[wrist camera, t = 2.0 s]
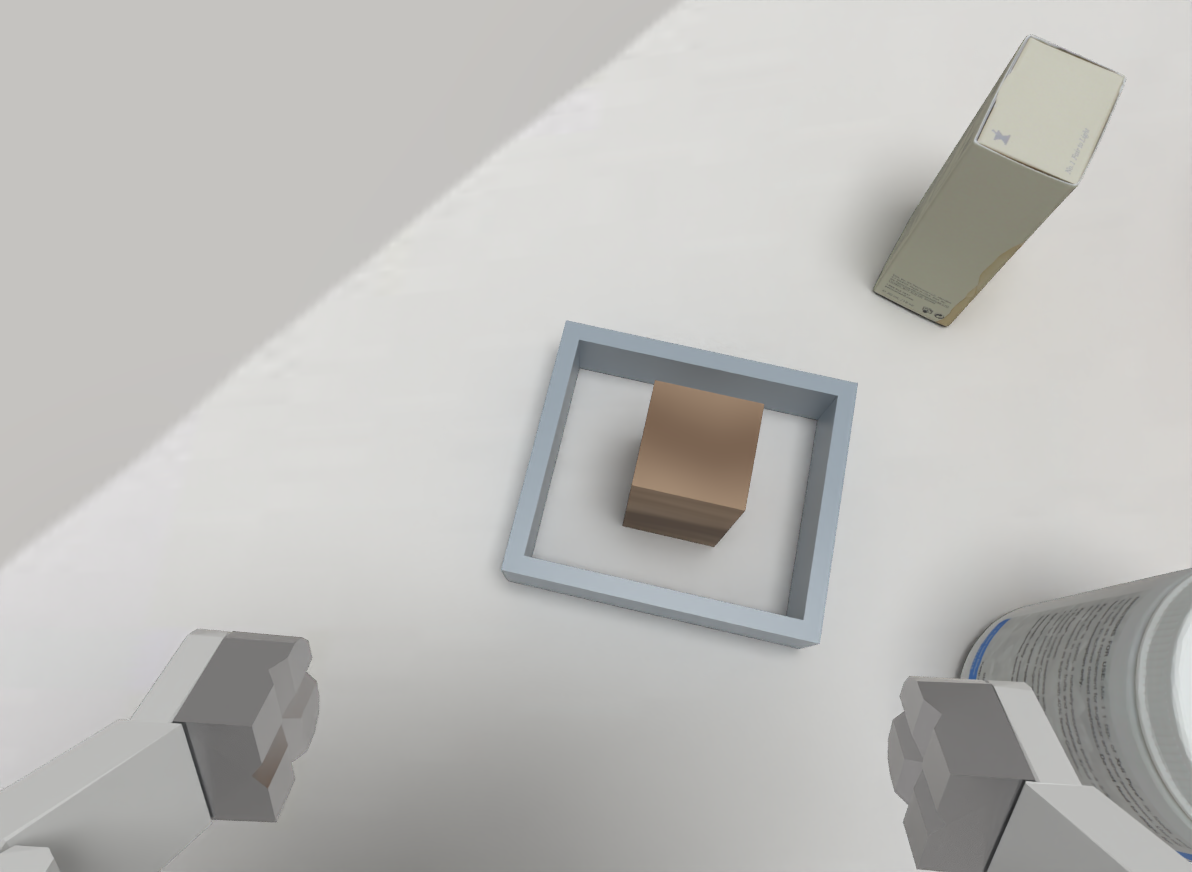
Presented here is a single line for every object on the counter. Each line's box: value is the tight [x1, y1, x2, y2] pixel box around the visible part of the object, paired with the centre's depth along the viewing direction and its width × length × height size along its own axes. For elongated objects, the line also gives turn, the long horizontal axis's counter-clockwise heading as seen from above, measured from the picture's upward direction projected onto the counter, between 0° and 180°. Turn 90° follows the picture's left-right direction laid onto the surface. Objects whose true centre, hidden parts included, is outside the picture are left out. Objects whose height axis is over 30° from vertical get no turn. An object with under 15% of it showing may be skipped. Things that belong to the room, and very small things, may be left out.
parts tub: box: [501, 320, 858, 649], centre depth 39 cm, size 12×14×4 cm
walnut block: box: [623, 380, 764, 547], centre depth 37 cm, size 4×4×8 cm
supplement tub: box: [960, 568, 1192, 862], centre depth 31 cm, size 10×10×15 cm
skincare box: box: [874, 34, 1126, 326], centre depth 39 cm, size 6×4×12 cm
